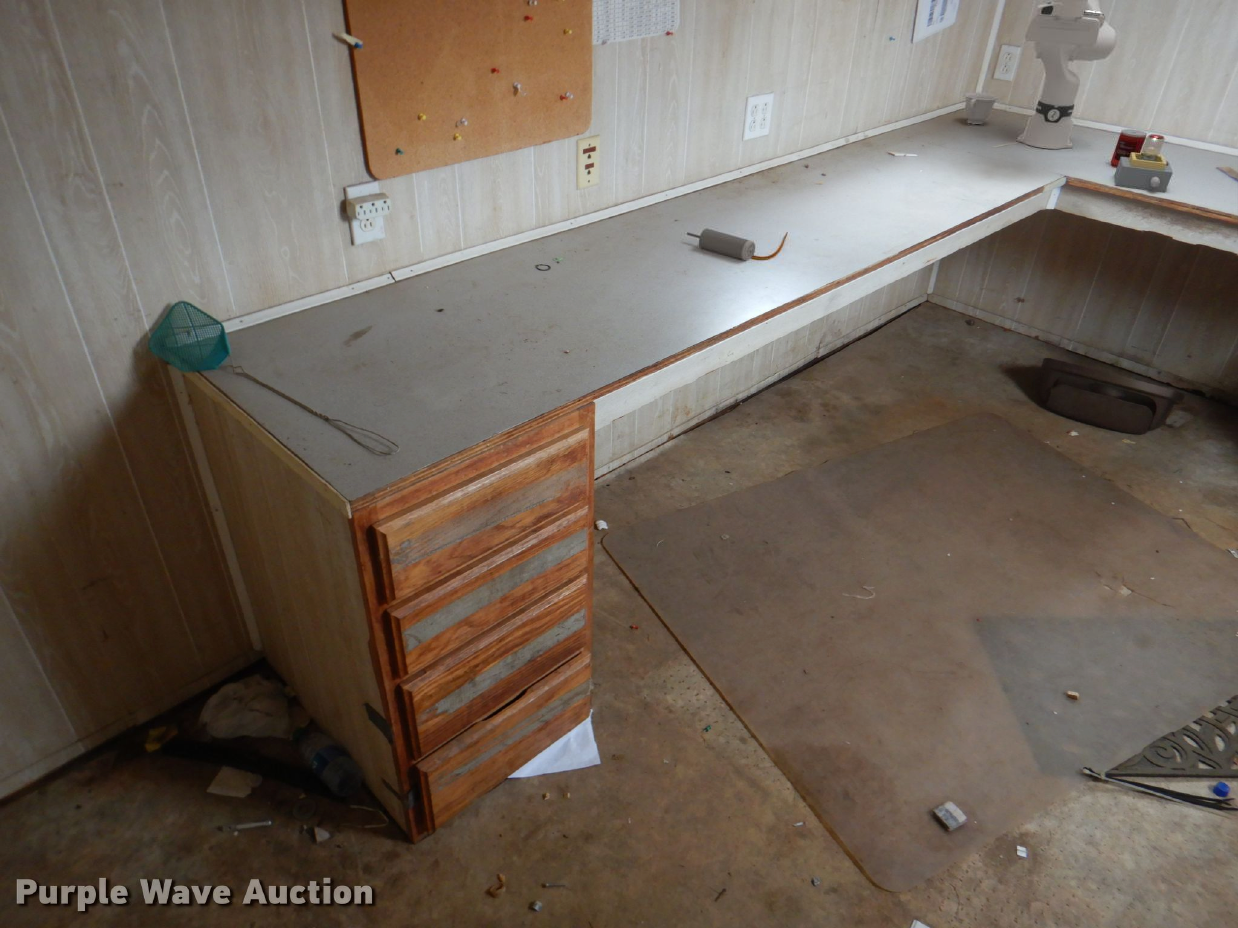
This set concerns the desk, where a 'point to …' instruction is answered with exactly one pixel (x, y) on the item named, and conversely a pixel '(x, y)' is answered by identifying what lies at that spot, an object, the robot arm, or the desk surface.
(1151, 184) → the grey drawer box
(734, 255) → the motor
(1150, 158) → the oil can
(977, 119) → the teacup
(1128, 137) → the canned food
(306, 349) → the desk surface
